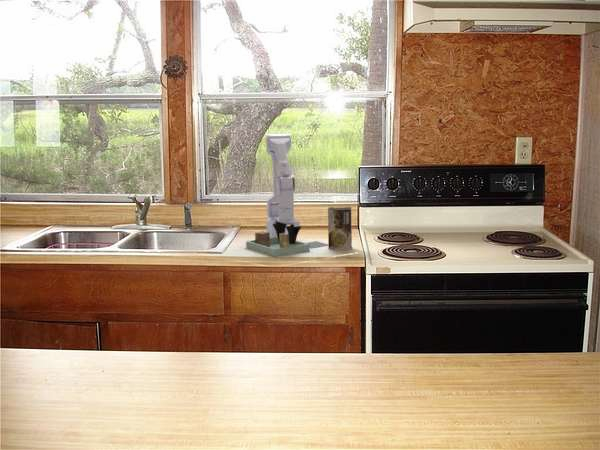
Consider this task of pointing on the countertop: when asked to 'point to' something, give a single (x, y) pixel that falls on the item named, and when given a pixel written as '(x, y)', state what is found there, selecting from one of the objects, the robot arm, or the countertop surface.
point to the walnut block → (262, 238)
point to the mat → (316, 244)
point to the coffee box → (339, 228)
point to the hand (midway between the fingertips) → (286, 242)
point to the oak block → (284, 240)
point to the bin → (278, 247)
